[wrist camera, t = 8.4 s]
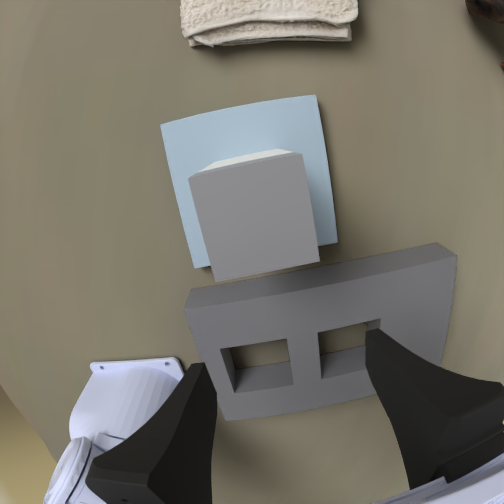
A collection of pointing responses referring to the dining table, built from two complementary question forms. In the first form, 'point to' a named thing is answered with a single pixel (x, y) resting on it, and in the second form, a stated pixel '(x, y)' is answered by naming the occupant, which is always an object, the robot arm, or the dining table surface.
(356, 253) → the dining table surface
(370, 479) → the dining table surface
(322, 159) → the pad
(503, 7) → the broken clay pot
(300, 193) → the plug
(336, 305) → the gray socket board
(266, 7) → the washcloth
